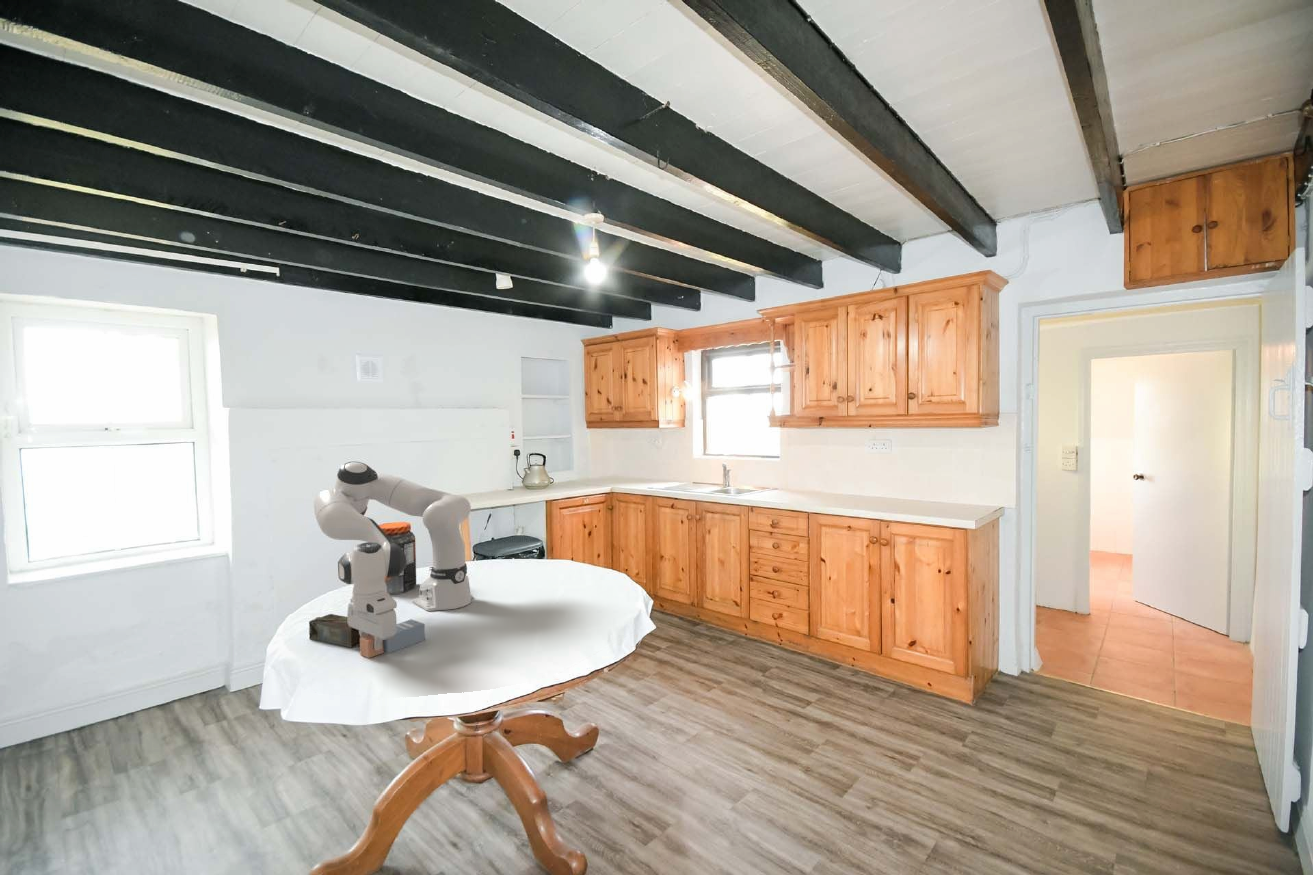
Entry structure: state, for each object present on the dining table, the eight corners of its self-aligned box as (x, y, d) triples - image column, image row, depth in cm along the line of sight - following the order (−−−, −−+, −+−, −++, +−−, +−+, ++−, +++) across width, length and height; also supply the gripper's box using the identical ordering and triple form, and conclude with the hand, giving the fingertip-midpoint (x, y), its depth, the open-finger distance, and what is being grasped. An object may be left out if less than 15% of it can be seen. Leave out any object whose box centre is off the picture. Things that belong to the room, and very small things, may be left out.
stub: (360, 654, 164) (359, 637, 164) (375, 649, 167) (374, 632, 167) (368, 658, 161) (367, 640, 161) (383, 652, 165) (382, 635, 165)
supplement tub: (365, 590, 224) (363, 525, 223) (403, 581, 237) (401, 519, 236) (386, 598, 215) (384, 530, 214) (424, 587, 227) (422, 523, 226)
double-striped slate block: (374, 648, 169) (374, 631, 168) (411, 634, 178) (411, 618, 178) (387, 653, 165) (387, 636, 164) (424, 639, 175) (424, 623, 174)
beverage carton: (331, 630, 183) (331, 610, 183) (375, 639, 176) (374, 618, 176) (308, 639, 176) (307, 618, 176) (352, 649, 169) (351, 627, 168)
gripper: (340, 596, 167) (342, 642, 167) (378, 609, 155) (380, 659, 156) (361, 591, 172) (363, 635, 173) (400, 603, 161) (401, 651, 161)
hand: (371, 647), depth 164 cm, fingers closed on stub, 4 cm apart
